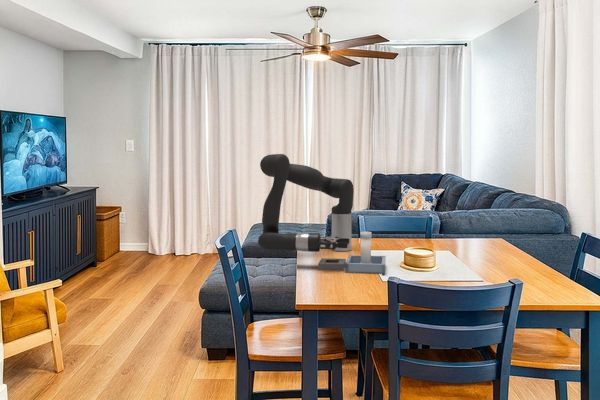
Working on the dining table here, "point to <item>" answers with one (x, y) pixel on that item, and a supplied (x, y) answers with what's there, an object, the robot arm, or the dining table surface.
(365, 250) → the fuse
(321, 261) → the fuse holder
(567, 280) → the dining table surface
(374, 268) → the parts tray
